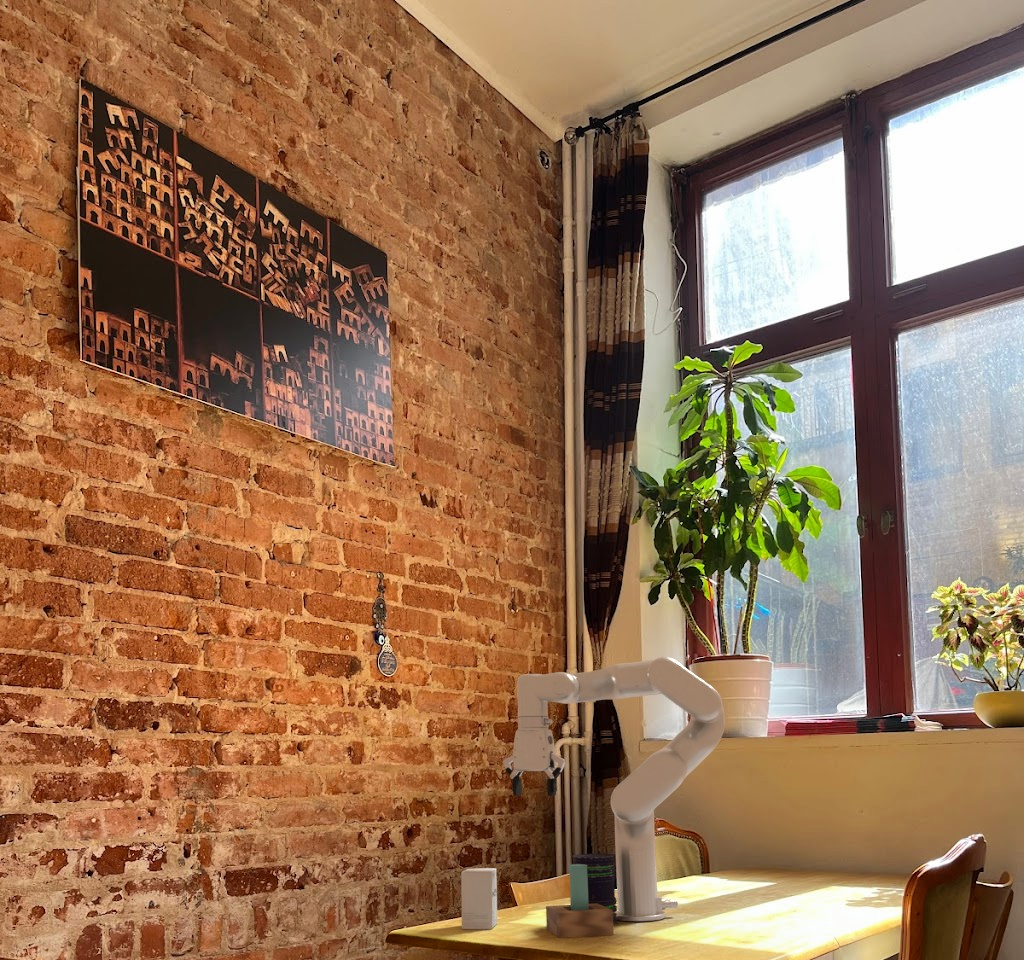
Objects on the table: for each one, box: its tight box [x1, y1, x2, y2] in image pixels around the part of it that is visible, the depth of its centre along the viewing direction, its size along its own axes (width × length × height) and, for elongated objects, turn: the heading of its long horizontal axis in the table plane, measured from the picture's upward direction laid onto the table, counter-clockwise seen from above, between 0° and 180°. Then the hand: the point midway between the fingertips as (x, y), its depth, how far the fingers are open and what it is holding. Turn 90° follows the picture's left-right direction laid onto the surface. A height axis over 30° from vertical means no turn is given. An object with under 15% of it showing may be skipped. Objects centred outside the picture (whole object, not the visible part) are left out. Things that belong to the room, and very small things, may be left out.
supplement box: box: [460, 867, 498, 930], centre depth 261 cm, size 7×7×13 cm
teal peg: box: [568, 864, 589, 911], centre depth 251 cm, size 4×4×14 cm
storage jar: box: [572, 853, 618, 926], centre depth 263 cm, size 10×10×15 cm
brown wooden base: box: [545, 903, 615, 939], centre depth 250 cm, size 12×12×5 cm
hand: (534, 795), depth 277 cm, fingers open, 9 cm apart
